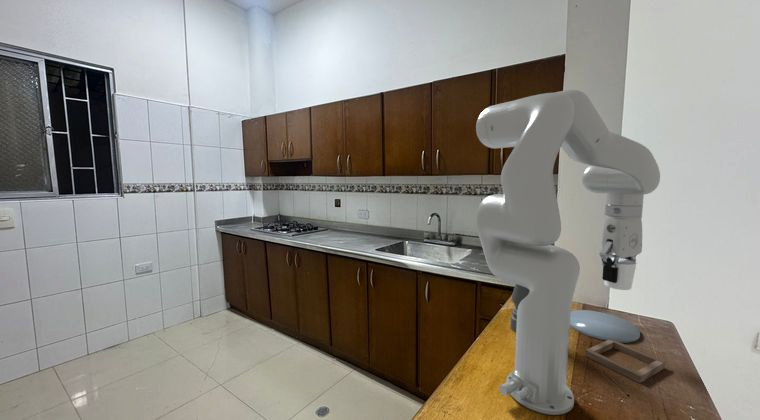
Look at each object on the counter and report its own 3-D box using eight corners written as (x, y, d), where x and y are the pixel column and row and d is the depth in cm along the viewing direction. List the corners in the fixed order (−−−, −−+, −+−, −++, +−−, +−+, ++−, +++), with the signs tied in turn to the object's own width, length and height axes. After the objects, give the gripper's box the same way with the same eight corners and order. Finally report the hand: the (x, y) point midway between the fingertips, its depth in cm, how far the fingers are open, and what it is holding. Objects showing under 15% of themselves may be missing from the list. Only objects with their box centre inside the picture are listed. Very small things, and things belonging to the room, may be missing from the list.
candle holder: (534, 327, 92) (538, 245, 89) (532, 336, 87) (536, 249, 84) (512, 322, 96) (515, 243, 93) (508, 330, 90) (512, 247, 88)
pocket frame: (639, 383, 67) (640, 376, 67) (585, 355, 77) (585, 349, 77) (664, 368, 72) (665, 361, 72) (610, 344, 83) (610, 338, 82)
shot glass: (640, 291, 77) (642, 264, 76) (609, 290, 79) (611, 263, 78) (625, 282, 84) (627, 257, 83) (596, 280, 85) (598, 256, 84)
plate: (618, 349, 80) (618, 345, 80) (552, 320, 96) (553, 317, 96) (652, 332, 88) (652, 329, 88) (586, 308, 104) (587, 306, 104)
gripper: (620, 216, 72) (614, 289, 74) (658, 210, 79) (652, 277, 81) (587, 212, 79) (583, 280, 81) (625, 207, 86) (620, 269, 88)
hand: (618, 278), depth 81 cm, fingers closed on shot glass, 6 cm apart
